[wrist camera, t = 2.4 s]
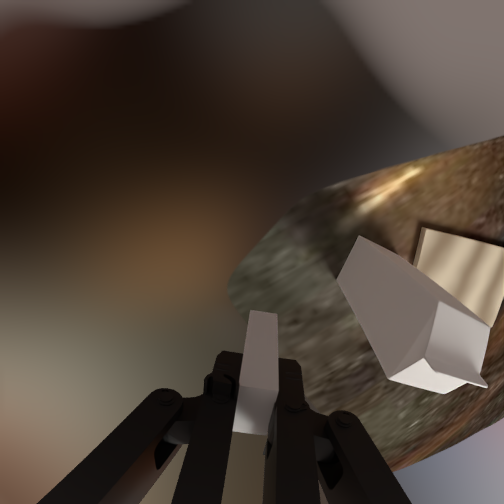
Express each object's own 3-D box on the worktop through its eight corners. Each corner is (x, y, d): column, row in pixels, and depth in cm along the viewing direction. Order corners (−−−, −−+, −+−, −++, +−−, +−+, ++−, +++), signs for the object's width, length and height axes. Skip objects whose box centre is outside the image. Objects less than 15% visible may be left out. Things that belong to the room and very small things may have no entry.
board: (511, 249, 32) (516, 251, 31) (488, 323, 35) (492, 327, 34) (421, 226, 32) (426, 228, 31) (397, 317, 35) (400, 321, 34)
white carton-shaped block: (375, 297, 35) (460, 423, 14) (334, 279, 35) (400, 414, 13) (399, 253, 33) (516, 349, 12) (358, 233, 33) (466, 325, 12)
